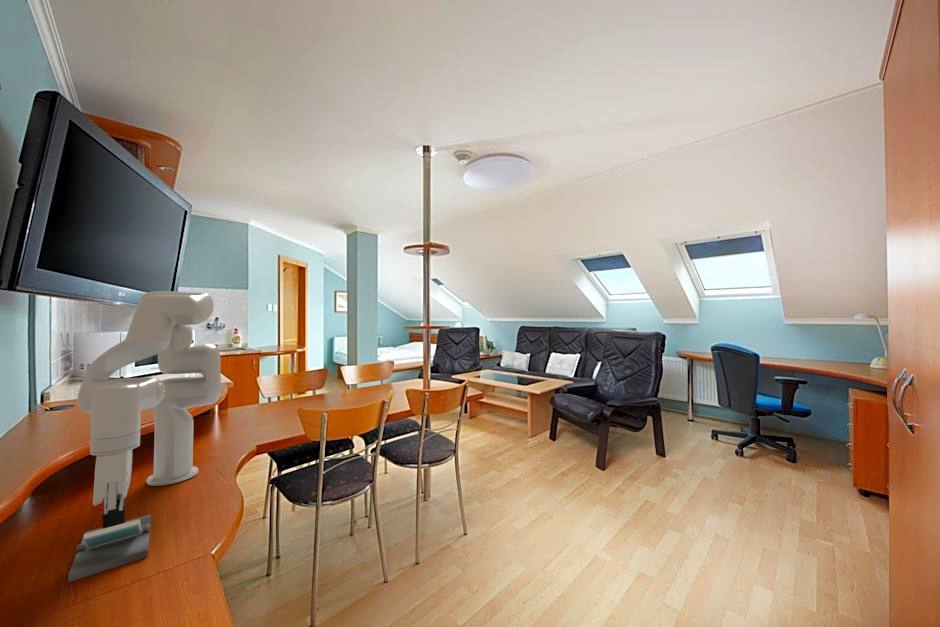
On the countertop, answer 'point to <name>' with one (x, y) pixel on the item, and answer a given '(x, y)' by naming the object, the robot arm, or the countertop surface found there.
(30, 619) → the countertop surface
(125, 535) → the tile
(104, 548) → the board
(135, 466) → the countertop surface
